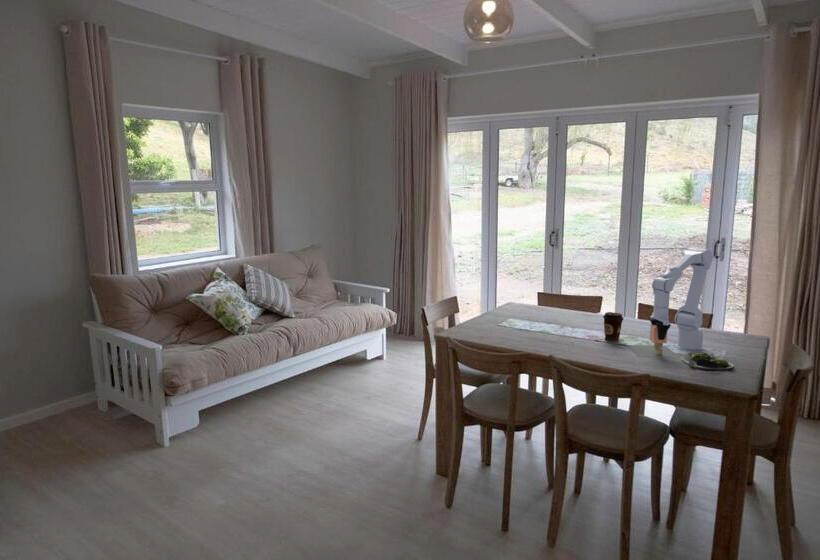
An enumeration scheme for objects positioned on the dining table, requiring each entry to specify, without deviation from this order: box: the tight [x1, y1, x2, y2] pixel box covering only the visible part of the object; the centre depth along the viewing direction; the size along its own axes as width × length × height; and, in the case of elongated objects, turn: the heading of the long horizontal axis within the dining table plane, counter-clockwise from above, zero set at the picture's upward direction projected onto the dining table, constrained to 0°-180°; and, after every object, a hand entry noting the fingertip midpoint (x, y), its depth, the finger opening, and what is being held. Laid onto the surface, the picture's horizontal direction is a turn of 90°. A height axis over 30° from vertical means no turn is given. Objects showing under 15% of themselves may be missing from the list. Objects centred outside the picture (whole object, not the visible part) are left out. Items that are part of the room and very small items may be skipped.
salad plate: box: [681, 352, 735, 372], centre depth 222 cm, size 19×18×5 cm
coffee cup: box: [602, 311, 624, 343], centre depth 254 cm, size 9×8×13 cm
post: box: [653, 343, 664, 355], centre depth 234 cm, size 3×3×5 cm
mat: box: [626, 344, 681, 359], centre depth 238 cm, size 17×17×1 cm
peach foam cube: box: [649, 324, 668, 344], centre depth 232 cm, size 5×5×7 cm
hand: (658, 337), depth 233 cm, fingers closed on peach foam cube, 5 cm apart
